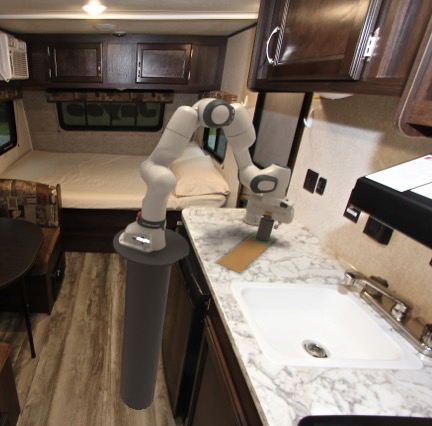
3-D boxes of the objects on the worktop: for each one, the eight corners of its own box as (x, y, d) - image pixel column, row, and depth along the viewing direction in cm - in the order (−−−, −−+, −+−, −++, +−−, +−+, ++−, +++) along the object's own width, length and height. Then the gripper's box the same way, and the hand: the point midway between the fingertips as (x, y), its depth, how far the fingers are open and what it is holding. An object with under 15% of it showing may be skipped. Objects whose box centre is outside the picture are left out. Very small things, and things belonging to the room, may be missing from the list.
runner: (239, 273, 117) (239, 273, 117) (216, 262, 123) (216, 262, 123) (268, 246, 137) (268, 246, 137) (247, 238, 143) (247, 238, 143)
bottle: (253, 238, 143) (260, 210, 136) (259, 234, 146) (266, 207, 140) (265, 243, 139) (273, 214, 132) (270, 239, 142) (279, 211, 136)
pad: (268, 246, 137) (268, 246, 137) (247, 238, 143) (247, 238, 143) (276, 239, 143) (276, 238, 143) (255, 231, 149) (255, 231, 149)
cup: (253, 217, 166) (258, 197, 161) (267, 223, 158) (272, 203, 153) (239, 219, 162) (244, 199, 157) (252, 227, 154) (258, 206, 149)
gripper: (247, 194, 139) (241, 220, 145) (294, 207, 126) (285, 235, 131) (252, 191, 143) (246, 216, 149) (298, 203, 130) (290, 230, 135)
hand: (265, 225), depth 140 cm, fingers open, 8 cm apart
